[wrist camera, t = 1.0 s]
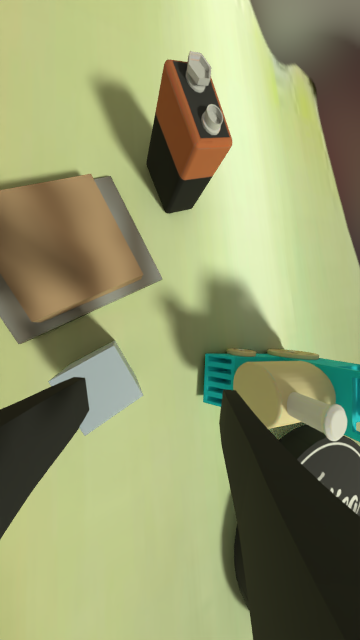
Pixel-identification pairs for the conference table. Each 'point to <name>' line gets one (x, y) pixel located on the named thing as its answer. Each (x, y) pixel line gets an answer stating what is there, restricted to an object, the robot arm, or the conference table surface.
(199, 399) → the conference table surface
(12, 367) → the conference table surface
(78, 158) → the conference table surface
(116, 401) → the block
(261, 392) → the toy train
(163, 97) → the battery
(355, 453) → the wall sign
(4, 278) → the base block
